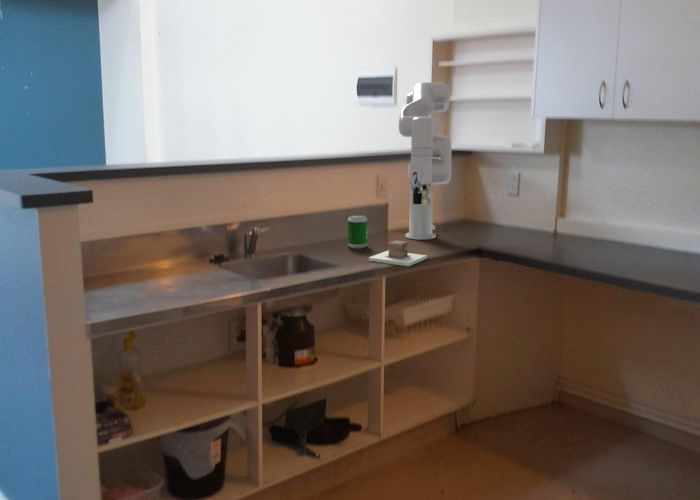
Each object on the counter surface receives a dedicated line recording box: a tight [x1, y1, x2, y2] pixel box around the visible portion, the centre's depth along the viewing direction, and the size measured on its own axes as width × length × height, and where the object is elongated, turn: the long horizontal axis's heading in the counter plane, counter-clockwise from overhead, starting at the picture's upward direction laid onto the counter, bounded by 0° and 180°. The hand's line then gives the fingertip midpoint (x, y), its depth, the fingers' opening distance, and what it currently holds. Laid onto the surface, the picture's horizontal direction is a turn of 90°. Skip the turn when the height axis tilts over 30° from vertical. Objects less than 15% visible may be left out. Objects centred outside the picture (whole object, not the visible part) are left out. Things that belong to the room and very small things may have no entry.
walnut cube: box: [388, 239, 409, 258], centre depth 253 cm, size 5×5×5 cm
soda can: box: [347, 214, 368, 249], centre depth 275 cm, size 8×8×12 cm
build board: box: [368, 249, 428, 267], centre depth 254 cm, size 14×16×1 cm
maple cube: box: [412, 189, 431, 205], centre depth 256 cm, size 5×5×5 cm
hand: (420, 202), depth 256 cm, fingers closed on maple cube, 4 cm apart
